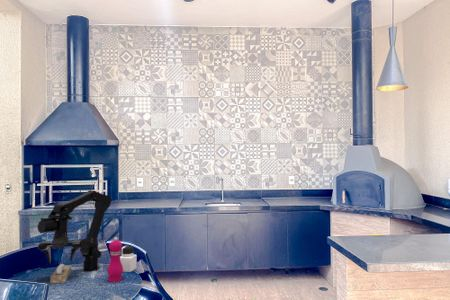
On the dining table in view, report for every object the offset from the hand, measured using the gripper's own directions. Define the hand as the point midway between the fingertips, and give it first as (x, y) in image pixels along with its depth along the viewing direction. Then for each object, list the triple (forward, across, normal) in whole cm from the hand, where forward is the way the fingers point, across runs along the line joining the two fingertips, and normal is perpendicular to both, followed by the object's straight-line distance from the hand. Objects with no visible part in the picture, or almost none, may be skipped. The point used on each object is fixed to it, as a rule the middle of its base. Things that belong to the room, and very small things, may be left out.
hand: (60, 262), depth 164 cm
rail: (+8, 0, +3) cm, 8 cm away
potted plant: (+8, +31, +7) cm, 33 cm away
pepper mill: (+8, +26, -8) cm, 28 cm away
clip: (+8, 0, 0) cm, 8 cm away
